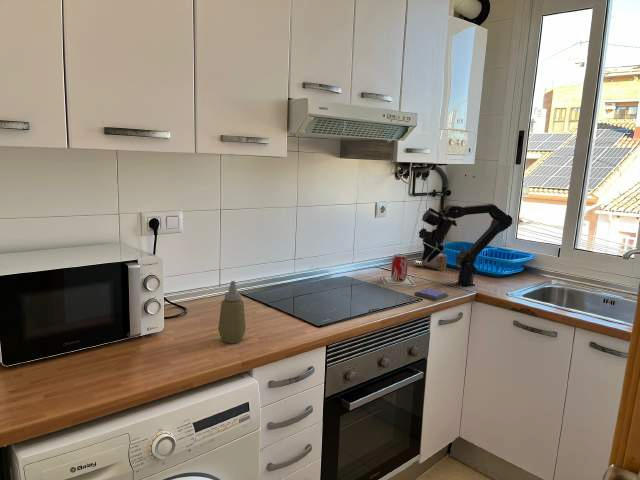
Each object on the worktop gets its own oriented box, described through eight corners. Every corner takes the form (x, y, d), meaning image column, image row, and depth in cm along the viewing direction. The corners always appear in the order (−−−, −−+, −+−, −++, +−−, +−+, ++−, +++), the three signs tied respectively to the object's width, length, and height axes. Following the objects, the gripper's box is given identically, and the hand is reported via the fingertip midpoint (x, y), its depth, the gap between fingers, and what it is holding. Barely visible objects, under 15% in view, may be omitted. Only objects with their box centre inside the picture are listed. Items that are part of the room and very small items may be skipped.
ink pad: (427, 291, 204) (427, 287, 204) (448, 296, 197) (448, 293, 197) (414, 295, 197) (414, 291, 197) (435, 300, 190) (436, 297, 190)
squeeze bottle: (212, 339, 139) (213, 280, 136) (235, 333, 145) (236, 276, 142) (228, 348, 133) (229, 286, 130) (251, 341, 139) (252, 282, 136)
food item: (418, 266, 254) (419, 248, 253) (427, 264, 259) (429, 247, 258) (438, 271, 244) (440, 252, 242) (447, 269, 249) (449, 251, 247)
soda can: (396, 283, 214) (398, 257, 212) (387, 279, 220) (389, 254, 218) (409, 282, 217) (411, 256, 215) (400, 278, 223) (402, 253, 221)
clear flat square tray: (409, 278, 225) (409, 277, 225) (415, 286, 212) (415, 285, 211) (380, 277, 225) (380, 276, 225) (384, 284, 211) (384, 283, 211)
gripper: (430, 226, 225) (415, 255, 226) (420, 219, 208) (404, 250, 210) (451, 236, 220) (436, 265, 221) (443, 230, 203) (426, 262, 205)
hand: (425, 261), depth 214 cm, fingers open, 9 cm apart
